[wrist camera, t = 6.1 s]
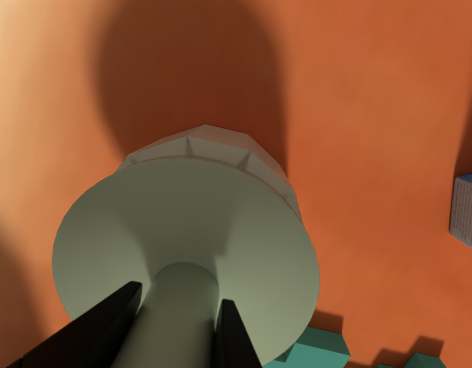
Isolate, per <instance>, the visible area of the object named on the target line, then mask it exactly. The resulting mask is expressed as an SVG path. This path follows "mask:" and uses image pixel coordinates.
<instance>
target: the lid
mask: <svg viewBox="0 0 472 368" xmlns="http://www.w3.org/2000/svg"><path fill="white" fill-rule="evenodd" d="M52 267H53V277H54V281H55V286H56V289H57V292H58V295H59V297H60V300H61V302H62V304H63V306H64V308H65V310H66V311H67V313H68V315H69V316H70V318H71V319H72V320H75V319H76V318H78V317H79V316H80V315H82V314H83V313H85V312H86V311H88V310H89V309H91V308H92V307H93V306H95V305H96V304H98V303H99V302H101V301H102V300H103V299H105V298H106V297H108V296H109V295H111V294H112V293H113V292H115V291H116V290H118V289H119V288H121V287H122V286H123V285H125V284H126V283H128V282H129V281H137V282H141V283H142V284H143V287H142V296H141V303H140V306H139V309H138V311H137V314H136V316H135V318H134V320H133V322H132V324H131V326H130V328H129V331H128V333H127V335H126V337H125V339H124V341H123V343H122V345H121V347H120V349H119V351H118V353H117V355H116V357H115V359H114V361H113V363H112V365H111V367H110V368H211V362H212V353H213V344H214V335H215V328H216V322H217V316H218V312H219V309H220V305H221V301H222V299H223V298H225V299H230V300H233V301H234V302H235V304H236V307H237V309H238V311H239V314H240V316H241V318H242V321H243V323H244V325H245V328H246V330H247V332H248V335H249V337H250V339H251V342H252V344H253V346H254V349H255V351H256V353H257V356H258V358H259V360H260V363H261V365H262V366H263V365H265V364H267V363H268V362H270V361H272V360H274V359H275V358H277V357H278V356H279V355H281V354H282V353H283V352H285V351H286V350H287V349H288V348H289V347H290V346H291V345H292V344H293V343H294V342H295V341H296V340H297V339H298V338H299V336H300V335H301V334H302V333H303V331H304V330H305V328H306V327H307V325H308V323H309V321H310V320H311V318H312V315H313V313H314V310H315V308H316V304H317V299H318V295H319V285H320V275H319V265H318V261H317V257H316V253H315V250H314V247H313V245H312V243H311V240H310V238H309V236H308V234H307V232H306V230H305V228H304V226H303V224H302V221H301V220H300V218H299V217H298V215H297V214H296V212H295V211H294V209H293V208H292V206H291V205H290V204H289V203H288V202H287V201H286V200H285V198H284V197H283V196H282V195H281V194H280V193H279V192H277V191H276V190H275V189H274V188H273V187H272V186H271V185H269V184H268V183H266V182H265V181H263V180H262V179H260V178H259V177H257V176H256V175H254V174H252V173H250V172H248V171H246V170H244V169H242V168H240V167H238V166H235V165H232V164H229V163H226V162H223V161H220V160H216V159H211V158H206V157H201V156H187V155H177V156H163V157H157V158H152V159H147V160H144V161H141V162H138V163H135V164H132V165H129V166H127V167H125V168H123V169H121V170H119V171H117V172H115V173H113V174H112V175H110V176H108V177H106V178H105V179H103V180H101V181H100V182H98V183H97V184H95V185H94V186H93V187H91V188H90V189H88V190H87V191H86V192H85V193H84V194H83V195H82V196H81V197H80V198H79V199H78V200H77V201H76V202H75V203H74V204H73V205H72V207H71V208H70V209H69V211H68V212H67V214H66V215H65V216H64V218H63V220H62V222H61V225H60V227H59V229H58V231H57V235H56V238H55V242H54V246H53V255H52Z"/></svg>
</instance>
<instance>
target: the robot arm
mask: <svg viewBox="0 0 472 368" xmlns="http://www.w3.org/2000/svg"><path fill="white" fill-rule="evenodd" d="M142 287H143V284H142V283H141V282H137V281H129V282H128V283H126V284H125V285H123V286H122V287H121V288H119V289H118V290H116V291H115V292H113V293H112V294H111V295H109V296H108V297H106V298H105V299H103V300H102V301H101V302H99V303H98V304H96V305H95V306H93V307H92V308H91V309H89V310H88V311H86V312H85V313H83V314H82V315H80V316H79V317H78V318H76V319H75V320H73V321H72V322H70V323H69V324H68V325H66V326H65V327H63V328H62V329H60V330H59V331H58V332H56V333H55V334H53V335H52V336H50V337H49V338H48V339H46V340H45V341H43V342H42V343H40V344H39V345H38V346H36V347H35V348H33V349H32V350H30V351H29V352H28V353H26V354H25V355H24V356H23V358H19V359H17V360H16V361H14V362H13V363H12V364H10V365H9V366H7V367H6V368H110V367H111V365H112V363H113V361H114V359H115V357H116V355H117V353H118V351H119V349H120V347H121V345H122V343H123V341H124V339H125V337H126V335H127V333H128V331H129V328H130V326H131V324H132V322H133V320H134V318H135V316H136V314H137V311H138V309H139V306H140V303H141V296H142ZM211 368H263V367H262V365H261V363H260V360H259V358H258V356H257V353H256V351H255V349H254V346H253V344H252V342H251V339H250V337H249V335H248V332H247V330H246V328H245V325H244V323H243V321H242V318H241V316H240V314H239V311H238V309H237V307H236V304H235V302H234V301H233V300H230V299H225V298H223V299H222V301H221V305H220V309H219V312H218V316H217V322H216V328H215V335H214V344H213V353H212V362H211Z"/></svg>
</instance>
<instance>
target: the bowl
mask: <svg viewBox="0 0 472 368" xmlns="http://www.w3.org/2000/svg"><path fill="white" fill-rule="evenodd" d="M177 155H187V156H201V157H206V158H211V159H216V160H220V161H223V162H226V163H229V164H232V165H235V166H238V167H240V168H242V169H244V170H246V171H248V172H250V173H252V174H254V175H256V176H257V177H259V178H260V179H262V180H263V181H265V182H266V183H268V184H269V185H271V186H272V187H273V188H274V189H275V190H276V191H277V192H279V193H280V194H281V195H282V196H283V197H284V198H285V200H286V201H287V202H288V203H289V204H290V205H291V206H292V208H293V209H294V211H295V212H296V214H297V215H298V217H299V218H300V220H301V221H302V218H301V214H300V210H299V206H298V202H297V198H296V194H295V191H294V189H293V187H292V186H291V184H290V182H289V180H288V179H287V177H286V175H285V173H284V172H283V170H282V168H281V166H280V165H279V163H278V162H277V161H276V160H275V159H274V158H273V157H272V156H271V155H270V154H268V153H267V152H266V151H265V150H264V149H263V148H262V147H261V146H260V145H259V144H258V143H257V142H256V141H255V140H254V139H253V138H252V137H251V136H249V135H248V134H245V133H241V132H237V131H232V130H228V129H224V128H219V127H215V126H211V125H206V124H204V125H201V126H198V127H195V128H192V129H188V130H185V131H182V132H179V133H176V134H173V135H170V136H167V137H164V138H162V139H160V140H158V141H156V142H153V143H151V144H149V145H147V146H145V147H143V148H141V149H139V150H137V151H135V152H133V153H131V154H129V155H128V156H127V157H126V159H125V160H124V161H123V162H122V164H121V165H120V166H119V168H118V169H117V170H116V171H115V172H117V171H119V170H121V169H123V168H125V167H127V166H129V165H132V164H135V163H138V162H141V161H144V160H147V159H152V158H157V157H163V156H177ZM302 224H303V222H302Z"/></svg>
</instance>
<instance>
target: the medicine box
mask: <svg viewBox="0 0 472 368" xmlns="http://www.w3.org/2000/svg"><path fill="white" fill-rule="evenodd" d="M450 234H451V235H452V236H453V237H455V238H456V239H458V240H460V241H461V242H463V243H464V244H465V245H467V246H468V247H470V248H471V249H472V174H467V175H462V176H457V177H456V178H455V180H454V190H453V197H452V209H451V219H450Z"/></svg>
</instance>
